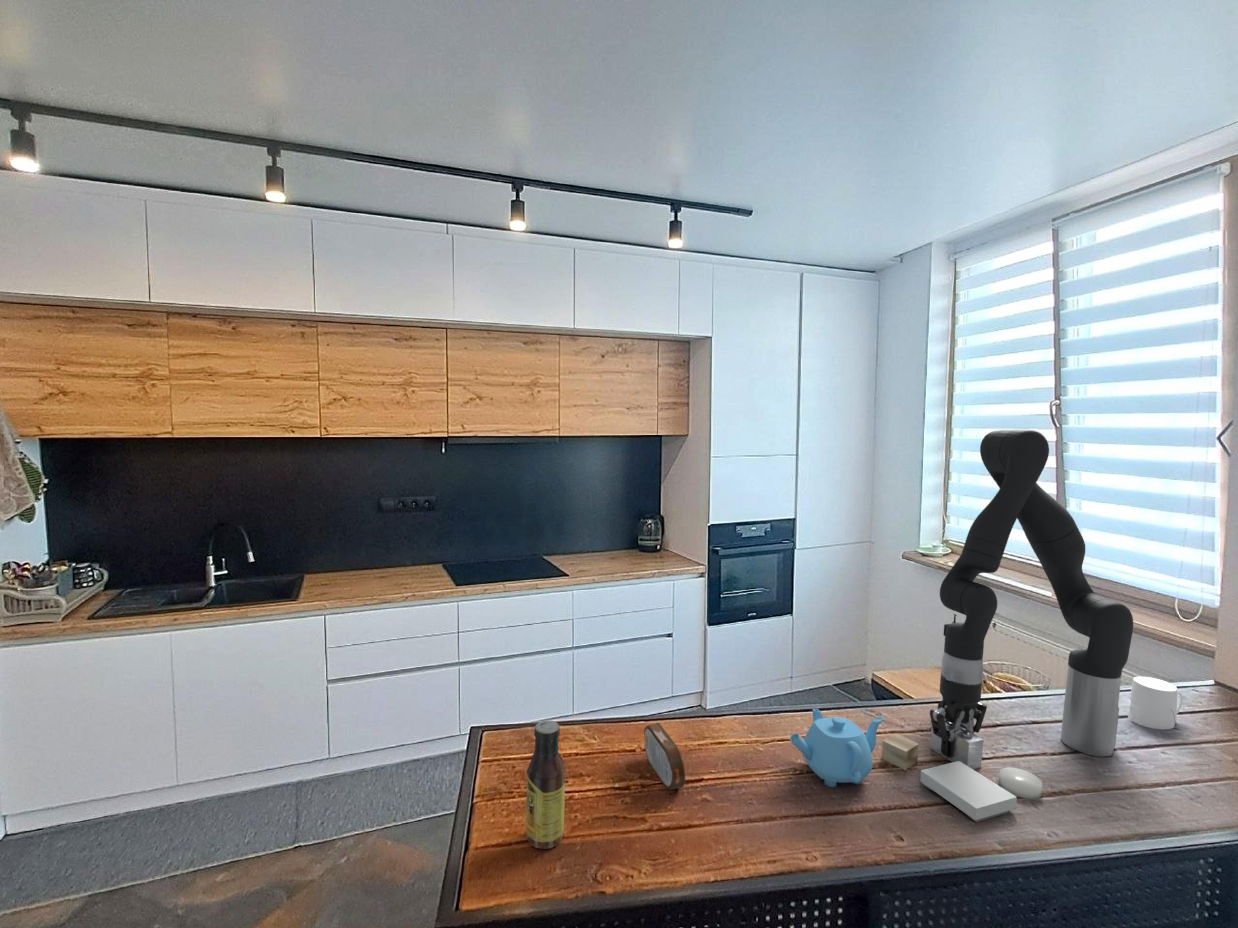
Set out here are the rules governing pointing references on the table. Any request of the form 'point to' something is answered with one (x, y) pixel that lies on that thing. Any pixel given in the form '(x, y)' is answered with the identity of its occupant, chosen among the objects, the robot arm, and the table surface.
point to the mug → (1154, 703)
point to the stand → (968, 790)
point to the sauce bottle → (545, 788)
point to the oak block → (900, 751)
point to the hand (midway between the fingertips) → (955, 753)
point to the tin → (664, 756)
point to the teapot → (838, 748)
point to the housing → (962, 747)
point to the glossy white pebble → (1020, 783)
